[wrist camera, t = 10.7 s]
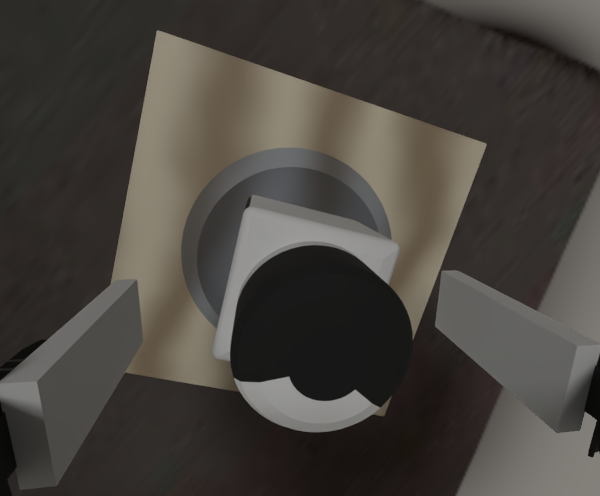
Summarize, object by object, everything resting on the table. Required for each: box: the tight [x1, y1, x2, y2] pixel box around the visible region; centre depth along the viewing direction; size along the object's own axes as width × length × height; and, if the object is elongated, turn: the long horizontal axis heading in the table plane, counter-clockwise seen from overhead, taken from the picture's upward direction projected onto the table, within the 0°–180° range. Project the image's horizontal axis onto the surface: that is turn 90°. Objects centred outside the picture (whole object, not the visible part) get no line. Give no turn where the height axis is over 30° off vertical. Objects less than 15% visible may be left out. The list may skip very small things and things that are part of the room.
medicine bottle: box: [212, 195, 413, 432], centre depth 16 cm, size 7×7×12 cm
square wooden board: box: [111, 30, 487, 416], centre depth 23 cm, size 22×22×2 cm
